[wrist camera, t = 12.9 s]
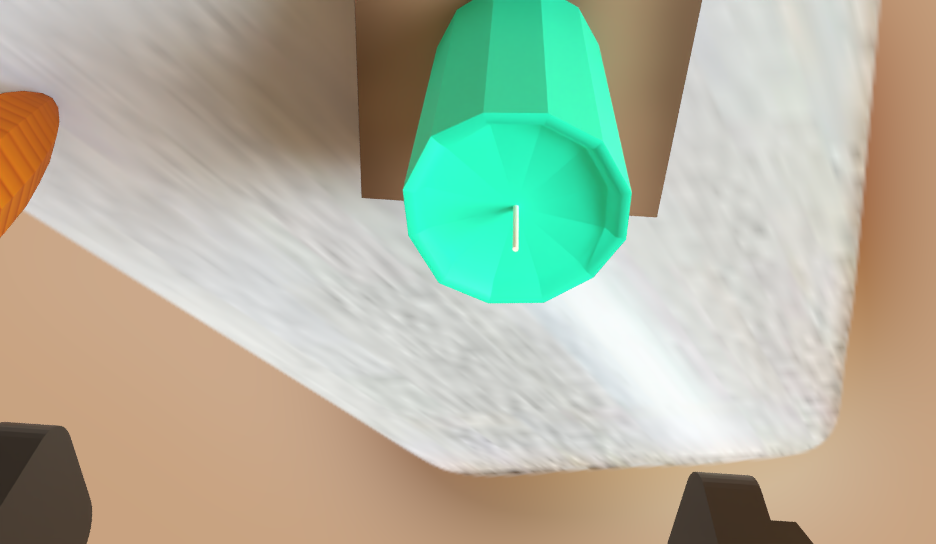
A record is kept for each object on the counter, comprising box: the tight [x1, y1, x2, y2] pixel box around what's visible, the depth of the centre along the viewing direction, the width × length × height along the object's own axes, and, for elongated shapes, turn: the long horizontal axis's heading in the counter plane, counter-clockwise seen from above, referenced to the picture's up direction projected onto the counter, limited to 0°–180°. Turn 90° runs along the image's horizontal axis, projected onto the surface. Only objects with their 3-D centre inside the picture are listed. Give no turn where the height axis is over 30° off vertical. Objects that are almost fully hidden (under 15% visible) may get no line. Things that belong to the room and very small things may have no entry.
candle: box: [403, 0, 632, 303], centre depth 25 cm, size 6×6×12 cm
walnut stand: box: [355, 0, 702, 217], centre depth 32 cm, size 12×12×5 cm
